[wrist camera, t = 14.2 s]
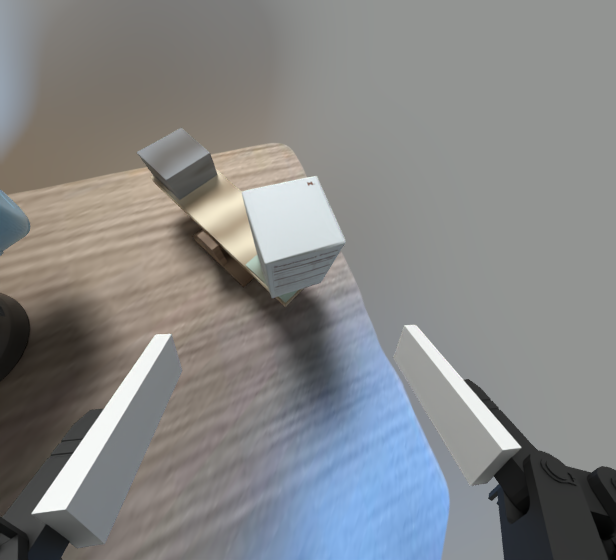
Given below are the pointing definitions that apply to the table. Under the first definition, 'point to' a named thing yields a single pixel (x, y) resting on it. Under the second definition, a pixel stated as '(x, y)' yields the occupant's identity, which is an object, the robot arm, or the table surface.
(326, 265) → the supplement box
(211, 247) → the fulcrum stand
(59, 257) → the table surface
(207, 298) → the table surface
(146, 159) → the seesaw beam
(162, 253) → the table surface
